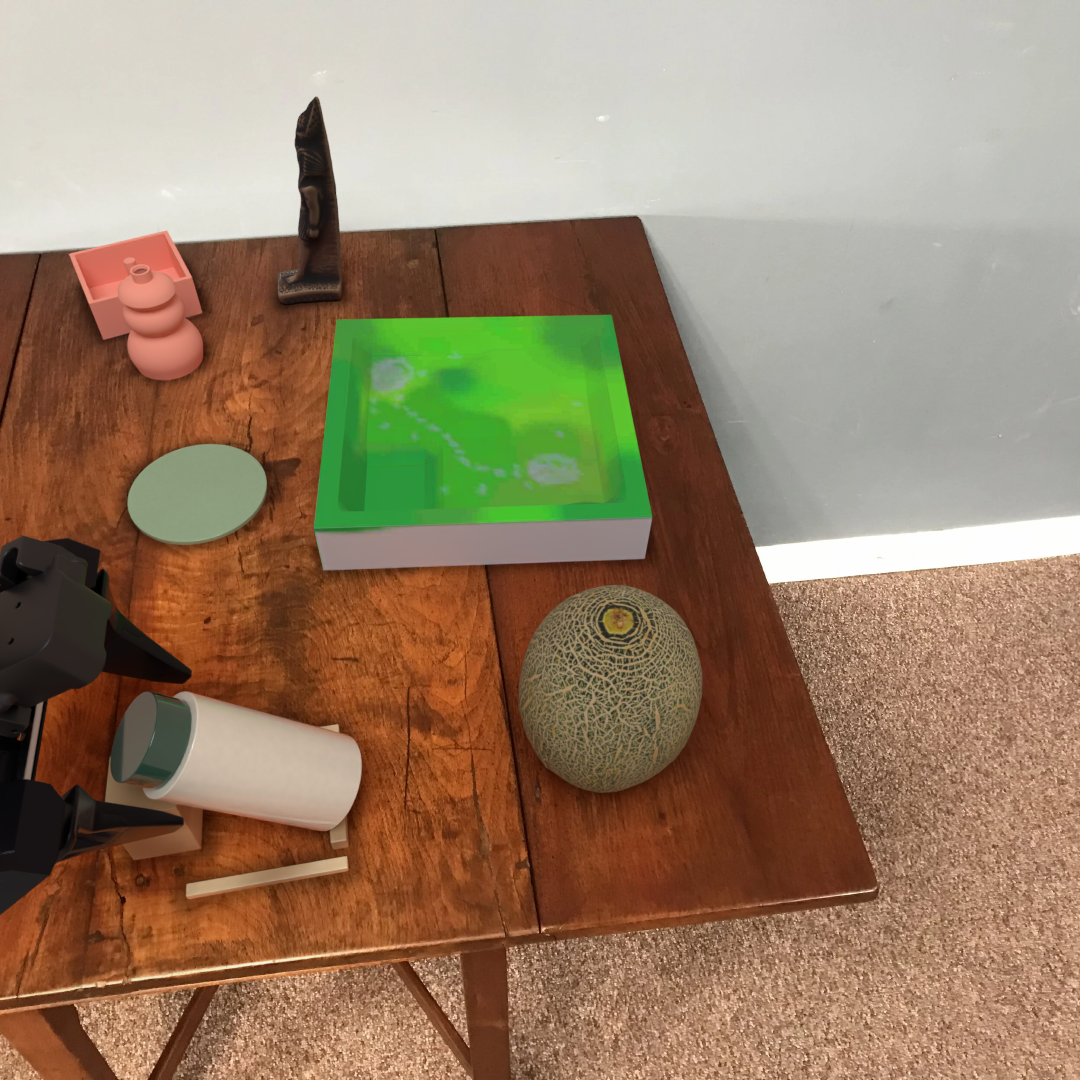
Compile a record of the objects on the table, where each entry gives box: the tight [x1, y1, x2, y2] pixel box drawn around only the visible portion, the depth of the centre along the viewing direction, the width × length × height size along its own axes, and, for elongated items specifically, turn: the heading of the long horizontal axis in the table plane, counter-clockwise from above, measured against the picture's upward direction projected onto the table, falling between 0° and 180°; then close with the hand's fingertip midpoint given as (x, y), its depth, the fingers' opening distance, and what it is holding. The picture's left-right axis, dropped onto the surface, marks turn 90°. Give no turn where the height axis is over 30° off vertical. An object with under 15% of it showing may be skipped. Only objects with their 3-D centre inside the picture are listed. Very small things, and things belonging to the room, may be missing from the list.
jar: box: [110, 690, 363, 832], centre depth 55 cm, size 13×6×13 cm, turn 101°
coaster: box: [126, 443, 268, 546], centre depth 77 cm, size 11×11×1 cm
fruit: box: [518, 584, 703, 794], centre depth 58 cm, size 11×11×15 cm
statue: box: [277, 96, 344, 305], centre depth 88 cm, size 4×7×20 cm, turn 100°
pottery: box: [68, 230, 204, 381], centre depth 87 cm, size 18×10×10 cm, turn 29°
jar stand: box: [104, 723, 350, 900], centre depth 57 cm, size 13×10×6 cm
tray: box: [313, 314, 653, 571], centre depth 79 cm, size 25×25×5 cm
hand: (184, 747), depth 52 cm, fingers open, 9 cm apart
